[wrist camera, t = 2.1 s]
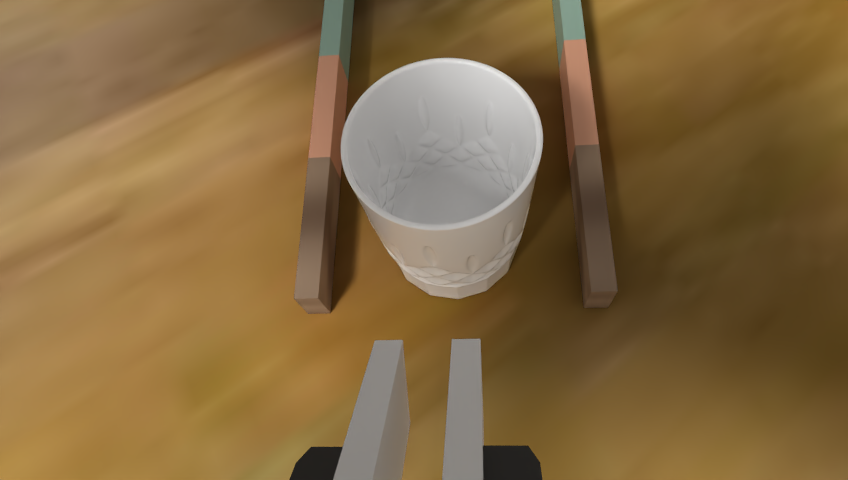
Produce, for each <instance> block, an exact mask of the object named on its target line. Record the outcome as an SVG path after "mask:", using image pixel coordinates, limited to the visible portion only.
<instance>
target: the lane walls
mask: <svg viewBox="0 0 848 480" xmlns="http://www.w3.org/2000/svg"><path fill="white" fill-rule="evenodd" d="M570 179H571V189H572V199H573V209H574V218H575V228H576V238H577V248H578V257H579V267H580V277H581V287H582V296H583V306H584V308H604V307H609V305H610V303H611V302H612V300H613V298H614V297H615V295H616V293H617V292H618V289H617V281H616V273H615V265H614V258H613V250H612V242H611V234H610V226H609V219H608V211H607V203H606V195H605V187H604V180H603V172H602V164H601V156H600V148H599V144H596V145H575V149H574V153H573V157H572V162H571V166H570ZM340 183H341V179H340V177H339V175H338V173H337V171H336V169H335V166H334V164H333V162H332V160H331V158H330V157H319V158H308V167H307V177H306V186H305V196H304V206H303V216H302V225H301V235H300V245H299V255H298V264H297V274H296V284H295V294H294V299H295V300H296V301H297V302H298V303H299V305H300V306H301V307H302V308H303V309H304V310H305V311H306V312H307V313H308V314H316V313H331V301H332V288H333V275H334V262H335V248H336V235H337V222H338V209H339V196H340Z"/></svg>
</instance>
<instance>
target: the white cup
mask: <svg viewBox="0 0 848 480" xmlns="http://www.w3.org/2000/svg"><path fill="white" fill-rule="evenodd" d="M542 149H543V130H542V124H541V120H540V117H539V114H538V111H537V109H536V107H535V105H534V103H533V102H532V100H531V98H530V97H529V96H528V94H527V93H526V92H525V91H524V89H523V88H522V87H521V86H520V85H519V84H518V83H517V82H515V81H514V80H513V79H512V78H510V77H509V76H508V75H506V74H504V73H503V72H501V71H499V70H497V69H495V68H493V67H491V66H489V65H486V64H483V63H480V62H476V61H472V60H467V59H460V58H435V59H428V60H422V61H418V62H414V63H411V64H408V65H405V66H403V67H400V68H398V69H396V70H394V71H392V72H390V73H388V74H387V75H385V76H383V77H382V78H381V79H379V80H378V81H376V82H375V83H374V84H373V85H372V86H370V87H369V88H368V89H367V90H366V91H365V92H364V93H363V94H362V96H361V97H360V98H359V99H358V101H357V102H356V103H355V105H354V106H353V108H352V110H351V111H350V113H349V115H348V117H347V120H346V122H345V125H344V129H343V133H342V138H341V160H342V165H343V169H344V172H345V175H346V177H347V180H348V182H349V184H350V186H351V187H352V189H353V191H354V193H355V195H356V196H357V198H358V200H359V202H360V204H361V206H362V207H363V209H364V211H365V213H366V215H367V216H368V218H369V220H370V222H371V225H372V227H373V228H374V230H375V232H376V233H377V235H378V236H379V238H380V240H381V242H382V243H383V245H384V246H385V248H386V249H387V251H388V253H389V254H390V256H391V257H392V258H393V259H394V260H395V261H396V262H397V264H398V266H399V267H400V269H401V271H402V273H403V274H404V276H405V278H406V279H407V280H408V281H409V282H411V283H412V284H414V285H415V286H417V287H418V288H420V289H421V290H423V291H424V292H426V293H427V294H429V295H432V296H440V297H447V298H454V299H461V298H464V297H468V296H471V295H474V294H478V293H481V292H484V291H487V290H488V289H489V288H490V287H491V286H493V285H494V284H495V283H496V282H497V281H498V280H499V279H500V278H502V277H503V276H504V275H505V274H506V273H507V272H508V270H509V268H510V265H511V263H512V260H513V257H514V255H515V252H516V250H517V247H518V244H519V242H520V239H521V236H522V233H523V229H524V226H525V223H526V219H527V216H528V212H529V207H530V203H531V198H532V194H533V189H534V185H535V181H536V176H537V172H538V168H539V163H540V159H541V155H542Z"/></svg>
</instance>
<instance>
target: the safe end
mask: <svg viewBox="0 0 848 480" xmlns="http://www.w3.org/2000/svg"><path fill="white" fill-rule="evenodd" d="M552 3H553V12H554V22H555V32H556V42H557V51H558V61H559V68H560V62H561V55H562V49H563V43H564V40H578V39H586V38H585V30H584V22H583V15H582V7H581V0H552ZM353 12H354V0H325V2H324V12H323V22H322V32H321V41H320V51H319V56H327V55H339V57H340V60H341V63H342V66H343V69H344V71H345V74H346V77H347V80H348V78H349V65H350V52H351V39H352V26H353Z"/></svg>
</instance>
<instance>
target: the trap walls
mask: <svg viewBox="0 0 848 480" xmlns="http://www.w3.org/2000/svg"><path fill="white" fill-rule="evenodd" d="M559 72H560V82H561V91H562V101H563V111H564V121H565V130H566V140H567V150H568V160H569V169H570V166H571V162H572V157H573V153H574V149H575V145H596V144H599V141H598V133H597V125H596V117H595V109H594V101H593V94H592V86H591V78H590V70H589V62H588V55H587V47H586V39H578V40H564V43H563V49H562V55H561V62H560V68H559ZM347 90H348V80H347V77H346V74H345V71H344V69H343V66H342V63H341V60H340V57H339V55H327V56H319V60H318V70H317V79H316V89H315V99H314V109H313V118H312V128H311V138H310V148H309V157H308V158H319V157H330V158H331V160H332V162H333V164H334V166H335V169H336V171H337V173H338V175H339V177H340V179H341V169H342V160H341V138H342V133H343V129H344V125H345V117H346V103H347Z"/></svg>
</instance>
